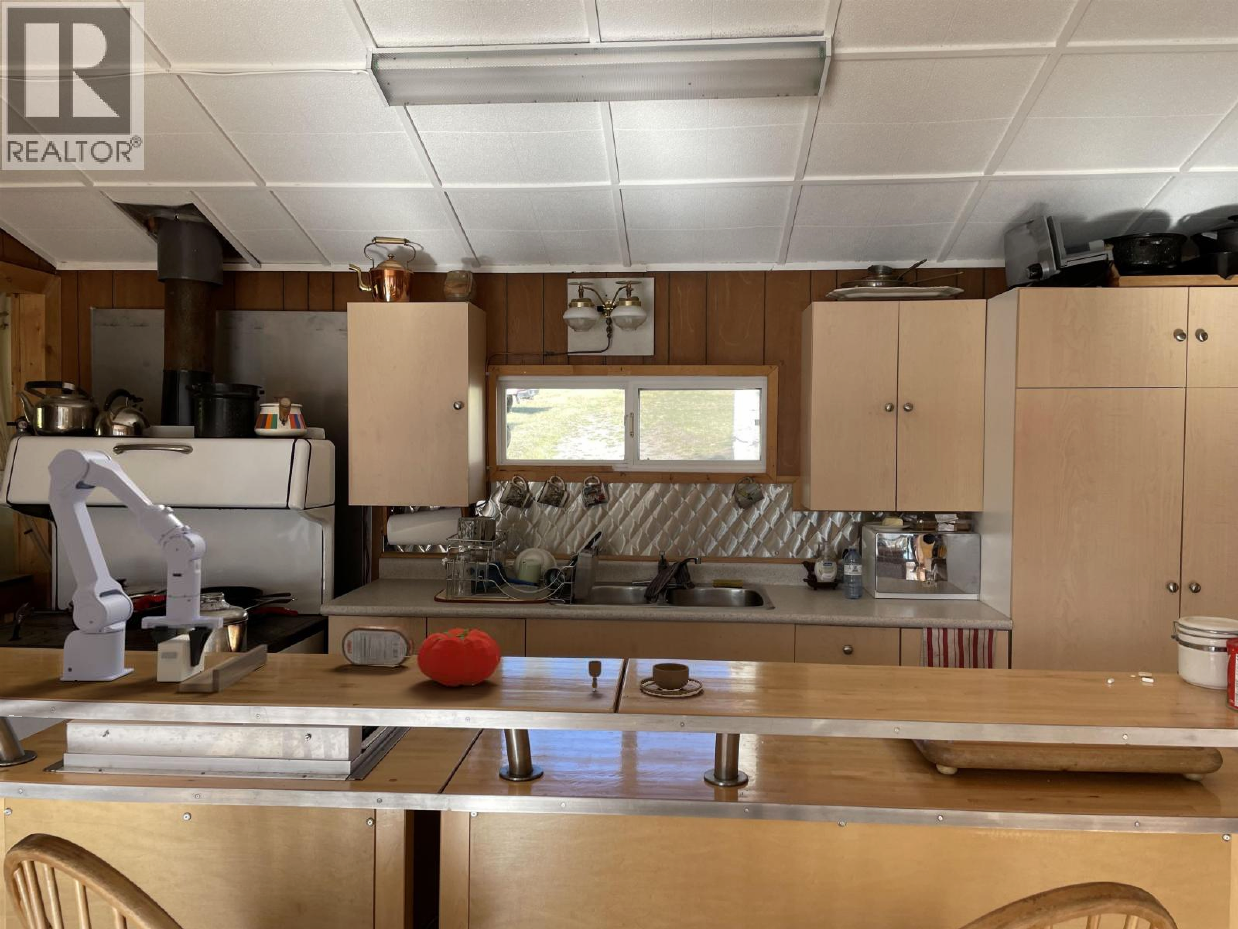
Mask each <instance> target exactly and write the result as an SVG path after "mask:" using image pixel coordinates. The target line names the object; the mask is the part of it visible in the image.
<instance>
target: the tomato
mask: <svg viewBox="0 0 1238 929" xmlns="http://www.w3.org/2000/svg"><path fill="white" fill-rule="evenodd" d="M469 630H471V631H469ZM417 652H418V653H417V657H416V661H417V666H418V668H419V670H420V672H421V673H422V674H423V675H424V676H425V677H428V678H429V679H431V680H433V681H435V682H438V683H439V684H442V685H443V686H445V685H446V686H445V687H448V686H451V687H458V686H461V684H462V686H464V685H472V684H475V685H477V684H479V683H481V682H483V681H485V680H487V679H488V678H490V677H491V676H492V675H493V674H494V672H495V670H496V669H497V668H498V666H499V664H500V663H501V659H502V652H501V648H500V646H499V645H498V642H497V641H495V640H494V639H493V638H491V637H490V636H489V635H488V633H486V632H484V631H480V630H478V629H476V628H475V629H472V628H466V629H465V628H457V627H455V628H452V629H449V630H447V631H444V632H442V633H441V632H436V633H433V634H430V635H429V636H427V638H425V639H424V641H423V642H422V643H421V645H420V647H419V648H418V651H417Z"/></svg>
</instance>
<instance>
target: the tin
mask: <svg viewBox="0 0 1238 929" xmlns="http://www.w3.org/2000/svg"><path fill="white" fill-rule="evenodd" d="M341 650H342V654H343V656H344V658H345V659H346V660H347V661H348V662H349V663H350V664H352V665H355V666H357V665H400V666H403V664H405V663H407V662H408V661H409V660H410V659H411V658H412V656H413V654H414V652H415V641H414V637H413V636H412V634H411V633H410V632H409V630H407V629H406V628H404V627H402V626H398V625H386V624H385V625H383V624H367V623H365V624H364V623H362V624H358V625H355V626H353V627H352V628H351V629H349V630H348V631H347V632H346V633H345V634H344V636H343V638H342V641H341ZM404 656H411V657H404Z"/></svg>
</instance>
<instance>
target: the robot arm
mask: <svg viewBox="0 0 1238 929" xmlns="http://www.w3.org/2000/svg"><path fill="white" fill-rule="evenodd" d="M47 470H48V473H49V476H50V483H49V489H48V490H49V491H48V498H47V499H48V504H49V506H50V509H51V512H52V516H53V518H54V522H55V523H56V526H57V530H58V533H59V534H60V538H61V541H62V543H63V544H62V545H63V546H64V550H65V554H66V555H67V558H68V561H69V564H70V567H71V570H72V573H73V576H74V579H75V582H76V584H77V588H76V590H75V591H74V593H73V595H72V597H71V601H72V603H73V613H72V619H73V622H74V624H75V626H76V627H77V628H78V630H77V629H76V630H73V631H71V632H70V633H69V634H68V635H67V637H66V638H65V641H64V646H63V664H62V667H63V668H62V669H63V670H62V677H60V679H59V681H75V680H77V682H78V681H84V682H85V681H87V682H88V681H93V682H96V681H98V682H100V681H102V682H103V681H104V682H106V681H107V682H108V681H113V680H116V679H118V678H120V677H123V676H125V675H127V674H130V673H132V672H134V671H135V670H134V668H125V647H126V645H125V643H126V641H125V639H126V624H127V620H130V619H129V618H131V617H132V614H133V611H134V605H133V602H132V599H131V598H130V597H129V596H128V595H127V594H126V593H125V591H124V590H123V587H122V585H121V584H120V583H119V582H118V581H117V580H115V579H113V578H112V577H111V574H110V571H109V569H108V565H107V564H106V560H105V557H104V555H103V551H102V549H101V546H100V543H99V539H98V538H97V534H96V531H95V529H94V525H93V523H92V520H91V517H90V514H89V511H88V508H87V504H86V500H87V498H89V495H91V493H92V492H93V491H94V490H95V489H96V488H97V487H98V488H99V487H100V488H102V489H103V488H104V489H106V490H107V491H108V492H109V493H111V494H112V495H113V496H114V497H115V498H116V499H118V500H119V501H120V502H122V504H123V505H125V507H127V508H128V509H129V510H131V512H132V513H134V515H136V517H137V520H136V521H137V522H136V525H137V527H139V528H140V529H141V530H142V531H143V532H144V533H145V534H146V535H147V536H148V537H149V538H150V539H152V541H153V542H155V543H156V545H157V546H159V547H160V549H161V556H162V558H163V559H164V561H165V562H166V563H167V564H166V565H167V575H166V576H167V577H166V578H167V581H166V584H167V585H166V606H165V609H166V613H165V614H166V615H163V616H146V617H143V618H142V619H141V629H150V628H151V629H153V631H151V632H150V635H151V637H152V639H153V640H154V642H155V644H156V645H157V647H158V644H159V643H162V642H165V641H167V640H170V639H172V638H175V637H176V633H177V629H191V630H188V634H187V635H189V639H190V647H191V656H190V663H191V667H195V666H197V665H199V663H200V658H201V655H202V652H203V649H204V646H205V647H206V644H207V642H208V641H209V639H210V637H211V634H212V633H213V631H214V630H219V629H222V628H223V627H224V617H220V616H219V617H216V616H205V615H204V616H203V615H201V614H200V610H201V609H200V608H201V607H200V606H201V581H202V580H201V579H202V576H201V575H202V570H201V569H202V559H203V557H204V556H205V554H206V553H207V548H208V547H207V545H208V544H207V542H206V540H205V538H204V537H203V534H201V533H199V532H195V531H190V530H191V527H189V525H187V524H186V525H184V523H182V521H180V520H179V519H178V518H177V517H176V516H175V515H174V514H173V512H174V510H173V509H172V508H171V507H170V506H165V505H164V504H154V503H153V502H152V501H151V500H150V499H149V498H148V497H147V496H146V495H145V494H144V492H142V490H141V489H140V488H139V487H138V486H137V484H135V483H134V482H133V480H131V479H130V477H129V476H128V475H127V474H126V473H125V472H124V471H123V470H122V468H121V466H120V463H119V462H117V461H116V460H114V459H112V458H111V456H110V455H109V454H108V453H106V452H104V451H102V450H80V449H73V448H67V449H64V450H63V449H62V450H61V451H59V452H58V453H57V454H56V455H55V456H54V458H53V459H52V461H51V462H50V463H49V465H48V466H47ZM131 671H132V672H131Z"/></svg>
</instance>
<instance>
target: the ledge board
mask: <svg viewBox="0 0 1238 929" xmlns="http://www.w3.org/2000/svg"><path fill="white" fill-rule="evenodd" d="M266 662H268V644H260V645H258V646H256V647H254V648H252V649H250V650H249V651H246V652H245V653H243V654H241V655H239V656H231V657H229V658H227V659H225V660H223V661H222V662H219V663H217V664H215V665H213V666H212V667H209V668H207V669H204V670H203V671H201V672H199V673H197V674H195V675H193V676H191V677H189V678H187V679H185V680H183V681H181V682H180V683H179V690H178V691H179V693H180V692H181V693H192V692H193V693H219V692H221V691H223V690H225V689H226V688H228V687H230V686H231V685H233V684H235V683H237V682H239V681H240V680H242V679H244V678H245V677H247V676H248V675H247V674H249V673H250V672H251V671H254V670H255V669H257V668H258V667H260V666H261V665H263V664H265V663H266ZM257 670H258V669H257ZM254 672H255V671H254ZM250 674H251V673H250ZM250 674H249V675H250ZM246 675H247V676H246Z"/></svg>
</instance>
